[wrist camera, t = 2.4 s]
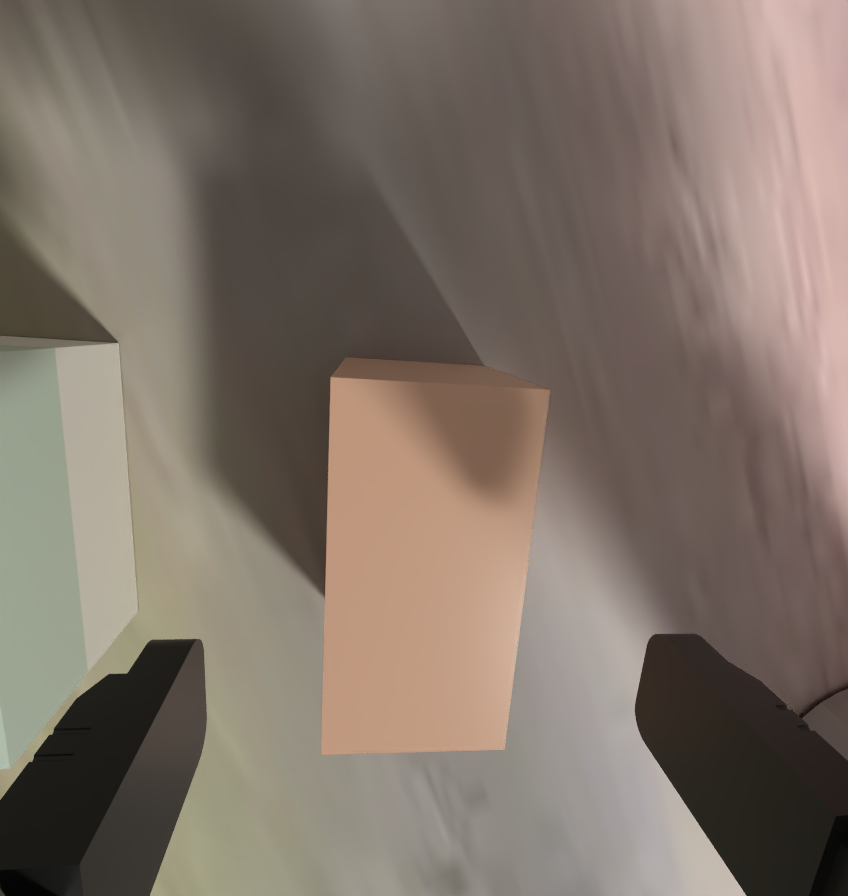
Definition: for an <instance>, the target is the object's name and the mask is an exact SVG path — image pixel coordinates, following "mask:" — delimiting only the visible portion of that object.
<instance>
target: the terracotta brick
mask: <svg viewBox="0 0 848 896" xmlns="http://www.w3.org/2000/svg"><path fill="white" fill-rule="evenodd" d="M549 397H550V390H549V389H547V388H544V387H541V386H538V385H536V384H533V383H530V382H527V381H525V380H522V379H519V378H516V377H514V376H511V375H508V374H506V373H503V372H500V371H497V370H495V369H492V368H489V367H486V366H479V365H463V364H447V363H431V362H415V361H399V360H383V359H367V358H351V357H346V358H345V359H344V360H343V361H342V363H341V364H340V365H339V367H338V368H337V369H336V371H335V372H334V373H333V375H332V376H331V382H330V422H329V462H328V502H327V543H326V583H325V623H324V663H323V703H322V744H321V755H333V754H368V753H402V752H437V751H472V750H505V742H506V734H507V726H508V718H509V710H510V703H511V695H512V687H513V679H514V671H515V663H516V656H517V648H518V640H519V632H520V624H521V616H522V609H523V601H524V593H525V585H526V577H527V569H528V562H529V554H530V546H531V538H532V530H533V522H534V515H535V507H536V499H537V491H538V483H539V475H540V468H541V460H542V452H543V444H544V436H545V428H546V421H547V413H548V405H549Z"/></svg>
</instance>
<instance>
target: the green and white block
mask: <svg viewBox="0 0 848 896" xmlns="http://www.w3.org/2000/svg"><path fill="white" fill-rule="evenodd" d="M137 612H138V602H137V588H136V574H135V561H134V547H133V533H132V519H131V506H130V492H129V478H128V464H127V451H126V437H125V423H124V409H123V396H122V382H121V368H120V354H119V343H109V342H93V341H77V340H61V339H45V338H29V337H13V336H0V769H10V768H11V767H12V766H13V765H14V763H15V762H16V761H17V760H18V759H19V757H20V756H21V755H22V754H23V752H24V751H25V750H26V749H27V747H28V746H29V745H30V744H31V743H32V741H33V740H34V739H35V738H36V736H37V735H38V734H39V733H40V731H41V730H42V729H43V728H44V726H45V725H46V724H47V723H48V722H49V720H50V719H51V718H52V717H53V715H54V714H55V713H56V712H57V710H58V709H59V708H60V707H61V705H62V704H63V703H64V702H65V701H66V699H67V698H68V697H69V696H70V694H71V693H72V692H73V691H74V689H75V688H76V687H77V686H78V684H79V683H80V682H81V681H82V680H83V678H84V677H85V676H86V675H87V673H88V672H89V671H90V670H91V668H92V667H93V666H94V665H95V664H96V662H97V661H98V660H99V659H100V657H101V656H102V655H103V654H104V652H105V651H106V650H107V649H108V647H109V646H110V645H111V644H112V643H113V641H114V640H115V639H116V638H117V636H118V635H119V634H120V633H121V631H122V630H123V629H124V628H125V626H126V625H127V624H128V623H129V622H130V620H131V619H132V618H133V617H134V615H135V614H136V613H137Z"/></svg>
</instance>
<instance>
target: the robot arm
mask: <svg viewBox="0 0 848 896" xmlns="http://www.w3.org/2000/svg"><path fill="white" fill-rule="evenodd" d="M635 715H636V721H637V726H638V729H639V732H640V735H641V737H642V739H643V741H644V742H645V744H646V746H647V747H648V749H649V750H650V752H651V753H652V755H653V756H654V758H655V759H656V761H657V762H658V764H659V765H660V767H661V768H662V770H663V771H664V773H665V774H666V776H667V777H668V779H669V780H670V782H671V783H672V785H673V786H674V788H675V789H676V791H677V792H678V794H679V795H680V797H681V798H682V800H683V801H684V803H685V804H686V806H687V807H688V809H689V810H690V812H691V813H692V815H693V816H694V818H695V819H696V821H697V822H698V824H699V825H700V827H701V828H702V830H703V831H704V833H705V834H706V836H707V837H708V839H709V840H710V842H711V843H712V845H713V846H714V848H715V849H716V851H717V852H718V854H719V855H720V857H721V858H722V860H723V861H724V863H725V864H726V866H727V867H728V869H729V870H730V872H731V873H732V874H733V876H734V877H735V879H736V880H737V882H738V883H739V885H740V886H741V888H742V889H743V891H744V892H745V894H746V895H747V896H848V689H846V690H843V691H841V692H838V693H837V694H835V695H833V696H831V697H830V698H828V699H826V700H825V701H823V702H821V703H820V704H818V705H817V706H816V707H815V708H813V709H812V710H811V711H810V712H809V713H807V714H806V715H805V716H804V717H803V718H802V719H801V718H800V717H799V716H798V715H797V714H796V713H795V712H794V711H793V710H788V709H787V707H786V704H785V703H784V702H783V701H782V700H781V699H779V698H778V697H777V696H776V695H775V694H774V693H773V692H772V691H771V690H770V689H768V688H767V687H766V686H765V685H764V684H763V683H762V682H761V681H759V680H758V679H756V678H754V677H753V676H751V675H749V674H748V673H746V672H744V671H743V670H741V669H739V668H738V667H736V666H735V665H733V664H731V663H730V662H728V661H727V660H726V659H724V658H723V657H722V656H721V655H720V654H719V653H718V652H717V651H716V650H715V649H714V648H713V647H712V646H711V645H710V644H708V643H707V642H706V641H705V640H704V639H703V638H702V637H701V636H699V635H697V634H655V635H653V636H652V637H651V638H650V639H649V641H648V644H647V648H646V653H645V658H644V663H643V668H642V673H641V678H640V683H639V688H638V693H637V698H636V703H635ZM206 720H207V713H206V690H205V668H204V649H203V644H202V641H201V640H200V639H175V640H151V641H150V642H148V643H147V645H146V646H145V648H144V649H143V651H142V652H141V654H140V655H139V657H138V658H137V660H136V661H135V663H134V664H133V666H132V667H131V669H130V670H129V672H128V673H127V674H109V675H107V676H106V677H105V678H103V679H102V680H101V681H99V682H98V683H97V684H95V685H94V686H93V687H91V688H90V689H89V690H87V691H86V692H85V693H83V694H82V695H81V696H79V697H78V698H77V699H76V700H75V701H74V703H73V704H72V705H71V707H70V708H69V709H68V711H67V712H66V713H65V715H64V716H63V717H62V719H61V720H60V721H59V723H58V724H57V725H56V727H55V728H54V732H53V734H52V735H49V736H48V737H47V739H46V740H45V741H44V743H43V744H42V745H41V747H40V748H39V749H38V751H37V752H36V753H35V755H34V759H33V761H32V762H29V763H28V764H27V765H26V767H25V768H24V769H23V771H22V772H21V773H20V775H19V776H18V777H17V779H16V780H15V781H14V783H13V784H12V785H11V787H10V788H9V789H8V791H7V792H6V793H5V795H4V796H3V797H2V799H1V800H0V896H150V893H151V891H152V888H153V885H154V882H155V880H156V877H157V874H158V871H159V869H160V866H161V863H162V861H163V858H164V855H165V852H166V850H167V847H168V844H169V842H170V839H171V836H172V833H173V831H174V828H175V825H176V822H177V820H178V817H179V814H180V812H181V809H182V806H183V803H184V801H185V798H186V795H187V793H188V790H189V787H190V784H191V782H192V779H193V776H194V773H195V771H196V768H197V765H198V763H199V760H200V756H201V753H202V749H203V744H204V739H205V732H206Z"/></svg>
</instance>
